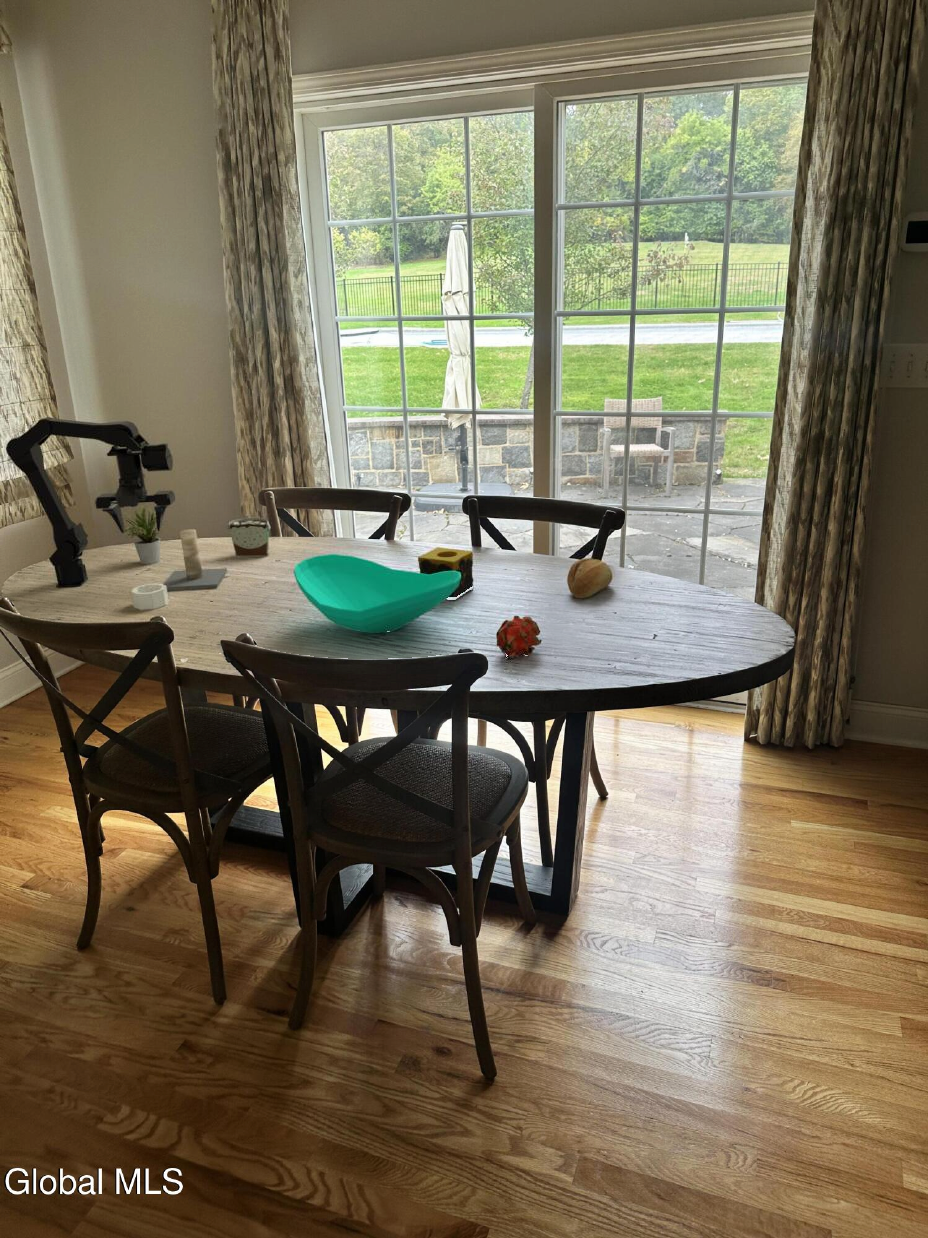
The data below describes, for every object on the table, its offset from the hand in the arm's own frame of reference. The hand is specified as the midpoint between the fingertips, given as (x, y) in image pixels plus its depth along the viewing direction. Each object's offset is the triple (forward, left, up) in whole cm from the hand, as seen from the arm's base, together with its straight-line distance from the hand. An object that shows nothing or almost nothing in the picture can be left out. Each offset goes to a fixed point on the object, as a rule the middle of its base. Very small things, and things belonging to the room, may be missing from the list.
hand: (141, 531), depth 223 cm
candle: (+78, -25, -13) cm, 83 cm away
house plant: (-5, +18, -13) cm, 23 cm away
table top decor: (+62, -46, -13) cm, 78 cm away
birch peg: (+13, -4, -12) cm, 18 cm away
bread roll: (+112, -30, -13) cm, 117 cm away
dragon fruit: (+90, -66, -13) cm, 112 cm away
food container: (+25, +20, -13) cm, 35 cm away
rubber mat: (+13, -4, -13) cm, 19 cm away
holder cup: (+6, -21, -13) cm, 25 cm away
